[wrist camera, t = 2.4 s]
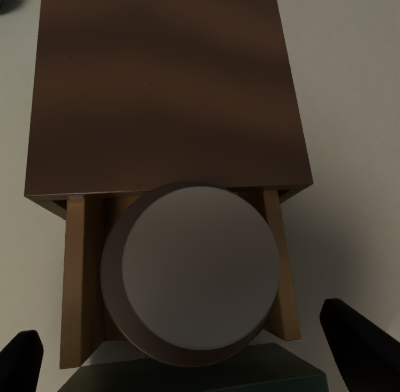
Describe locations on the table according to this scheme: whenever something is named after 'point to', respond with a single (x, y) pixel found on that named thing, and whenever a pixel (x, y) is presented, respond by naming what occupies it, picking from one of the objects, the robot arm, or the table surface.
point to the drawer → (149, 368)
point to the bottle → (190, 273)
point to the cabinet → (162, 100)
